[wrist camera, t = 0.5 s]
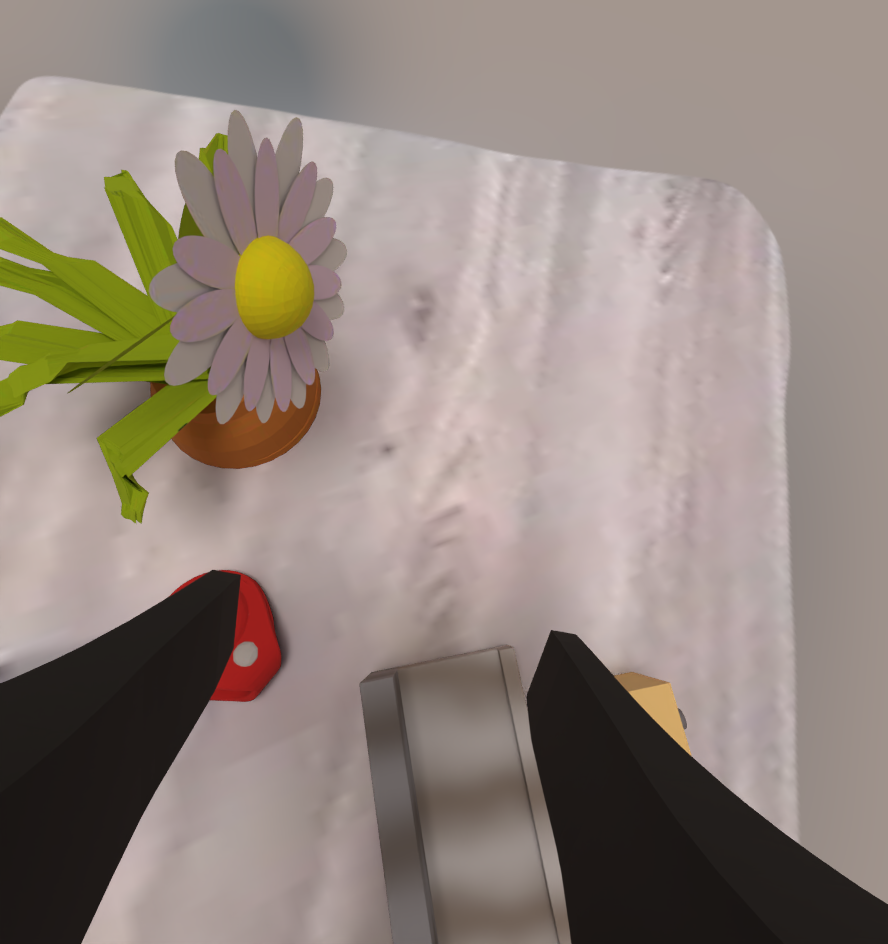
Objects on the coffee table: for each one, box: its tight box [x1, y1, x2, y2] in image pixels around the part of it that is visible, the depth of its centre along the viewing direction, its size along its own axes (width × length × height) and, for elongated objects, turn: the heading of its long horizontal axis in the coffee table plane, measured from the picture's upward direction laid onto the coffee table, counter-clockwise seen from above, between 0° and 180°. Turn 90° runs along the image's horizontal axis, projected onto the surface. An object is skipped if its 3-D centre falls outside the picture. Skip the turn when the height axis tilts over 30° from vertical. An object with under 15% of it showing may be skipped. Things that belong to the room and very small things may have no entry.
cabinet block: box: [614, 672, 691, 755], centre depth 32 cm, size 5×6×6 cm
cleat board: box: [360, 645, 571, 944], centre depth 30 cm, size 18×10×6 cm, turn 11°
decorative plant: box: [0, 110, 347, 523], centre depth 29 cm, size 27×24×25 cm
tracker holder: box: [169, 570, 281, 702], centre depth 34 cm, size 12×4×10 cm
